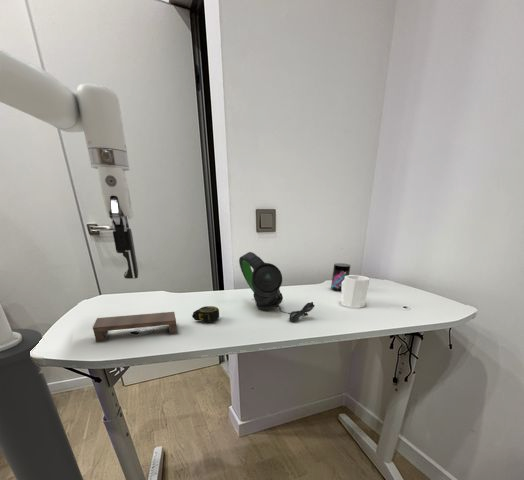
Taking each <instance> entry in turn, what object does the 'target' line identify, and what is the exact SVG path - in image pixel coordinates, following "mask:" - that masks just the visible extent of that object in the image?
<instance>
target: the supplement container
mask: <svg viewBox="0 0 524 480" xmlns="http://www.w3.org/2000/svg"><path fill="white" fill-rule="evenodd" d="M351 267H352V266H351V264H348V263H342V262H341V263H340V262H337V263H336V262H335V263H333V271H332V277H331V284H330V289H331V290H332V291H335V292H342V281H343V280H344V278H345V276H348V275H350V271H351Z"/></svg>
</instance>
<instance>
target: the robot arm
mask: <svg viewBox="0 0 524 480" xmlns="http://www.w3.org/2000/svg"><path fill="white" fill-rule="evenodd" d="M119 99H120V98H119V97H118V94H117V93H116V91H115V90H114V89H112V88H110V87H109V86H106V85H104V84H100V83H95V82H83V83H80V84H78V85H77V86H76V89H73V88H71V87H69V86H67V85H65V84H64V83H63V82H62V81H61V80H59V79H58V78H57V77H55V76H54V75H52V74H51V73H49V72H48V71H46V70H45V69H42V68H41V67H39V66H37V65H36V64H34V63H31V62H29V61H27V60H25V59H23V58H21V57H18V56H17V55H15V54H12V53H11V52H8V51H6V50H4V49H2V48H0V103H1V104H4V105H6V106H9V107H10V108H14V109H15V110H18V111H20V112H22V113H24V114H27V115H28V116H31V117H33V118H36V119H38V120H39V121H42V122H44V123H46V124H49V125H51V126H53V127H54V128H56V129H58V130H60V131H63V132H66V133H82V132H83V133H84V138H85V142H86V143H85V144H86V148H87V153H88V157H89V162H90V168H92V169H96V170H97V173H98V178H99V184H100V189H101V194H102V198H103V203H104V208H105V211H106V216H107V217H108V218H109V219H111V226H112V227H111V228H112V236H113V241H114V247H115V251H116V250H118V251H119V250H131V245H130V239H129V233H128V232H127V229H126V228H130V225H129V220H131V219H132V218H133V216H134V214H133V208H132V201H131V196H130V191H129V186H128V185H129V183H128V179H127V175H126V172H127V171H130V170H131V169H130V163H129V158H128V157H129V156H128V150H127V143H126V137H125V131H124V124H123V118H122V111H121V104H120V100H119ZM11 329H12V328H11V325H10V323H9V320H8V318H7V315H6V312H5V311H4V309H3V306H2V303H1V302H0V352H1V351H4V350H7V349H10V348H12V347H14V346H16V345H18V344H19V343H20V342H21V341H22V336H21V334H19V333H17V332H12V330H11Z"/></svg>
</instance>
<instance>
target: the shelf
mask: <svg viewBox="0 0 524 480" xmlns="http://www.w3.org/2000/svg"><path fill="white" fill-rule="evenodd" d="M177 325H178V324H177V318H176V313H175V311H165V312H153V313H141V314H140V313H139V314H129V315H117V316H105V317H96V320H95V321H94V323H93V326H92V332H93V335H94V340H95V342H96V343H104V342H106V339H107V336H108V333H109V331H119V330H120V331H121V330H130V329H140V328H152V327H161V326H168V331H169V335H177V334H178V326H177Z"/></svg>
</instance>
